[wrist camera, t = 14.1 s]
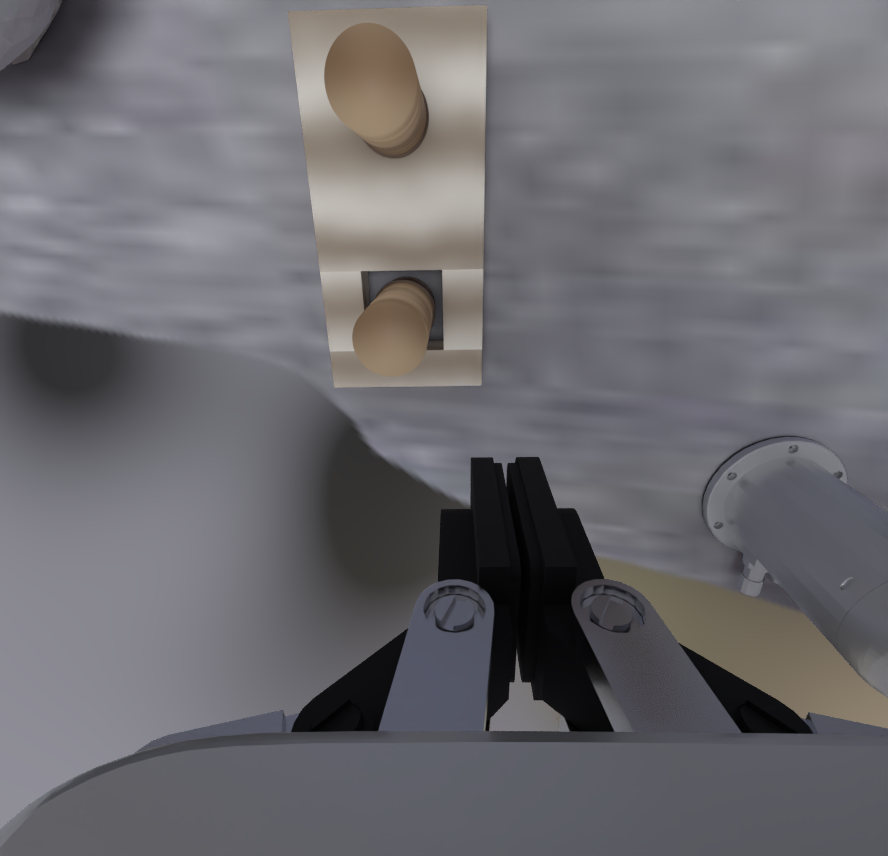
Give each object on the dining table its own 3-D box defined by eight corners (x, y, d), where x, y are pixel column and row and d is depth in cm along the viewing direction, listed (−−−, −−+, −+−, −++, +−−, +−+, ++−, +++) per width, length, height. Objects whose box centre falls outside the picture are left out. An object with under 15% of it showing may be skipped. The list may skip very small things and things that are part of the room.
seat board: (479, 374, 41) (489, 433, 30) (342, 375, 41) (301, 435, 30) (484, 23, 31) (501, -82, 20) (302, 29, 31) (220, -71, 20)
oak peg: (437, 332, 39) (431, 378, 28) (381, 333, 39) (353, 379, 28) (435, 274, 37) (428, 298, 26) (377, 275, 37) (345, 300, 26)
